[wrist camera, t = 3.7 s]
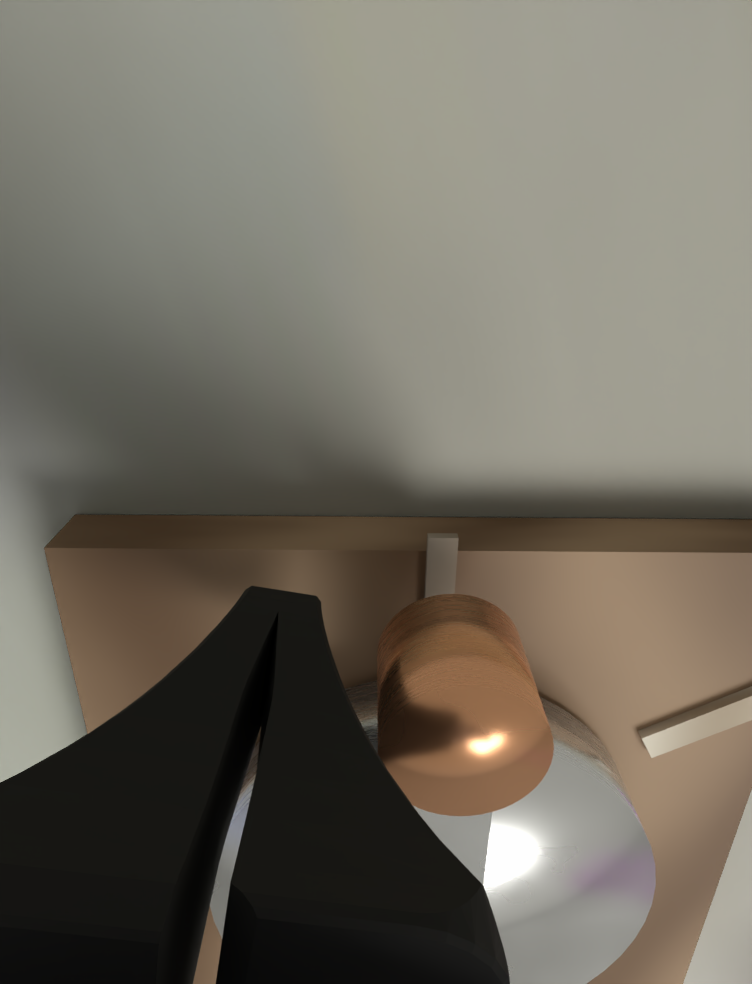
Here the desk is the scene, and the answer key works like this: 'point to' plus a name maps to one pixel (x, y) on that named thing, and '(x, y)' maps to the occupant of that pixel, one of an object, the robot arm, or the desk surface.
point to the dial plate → (527, 602)
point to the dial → (500, 789)
